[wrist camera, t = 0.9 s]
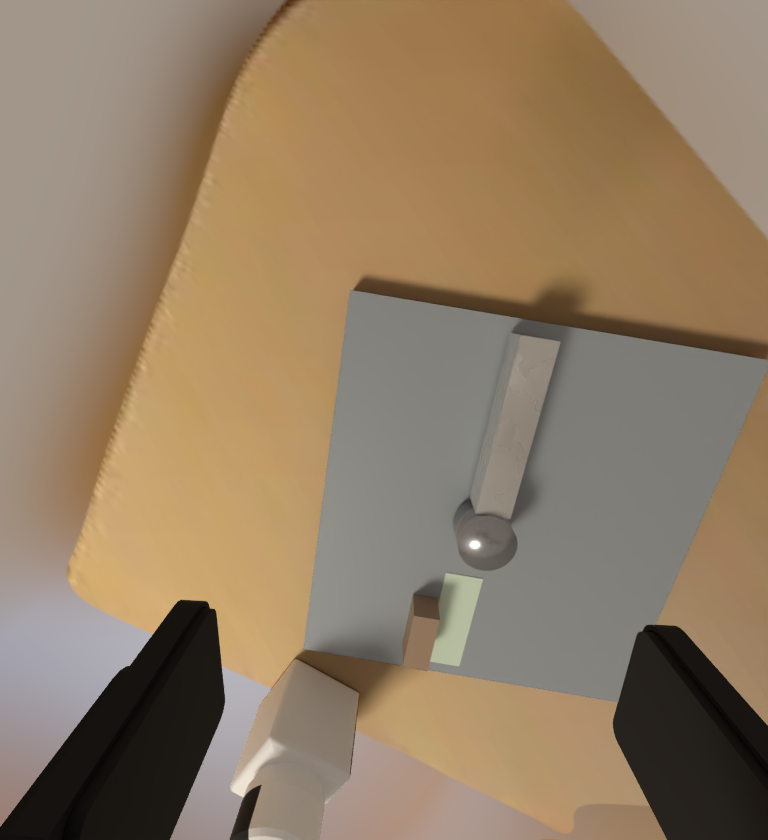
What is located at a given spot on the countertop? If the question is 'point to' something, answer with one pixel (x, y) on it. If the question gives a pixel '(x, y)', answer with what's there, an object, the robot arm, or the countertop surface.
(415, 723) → the countertop surface
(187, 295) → the countertop surface
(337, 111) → the countertop surface
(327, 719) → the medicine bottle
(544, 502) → the latch plate
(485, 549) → the swing bar
